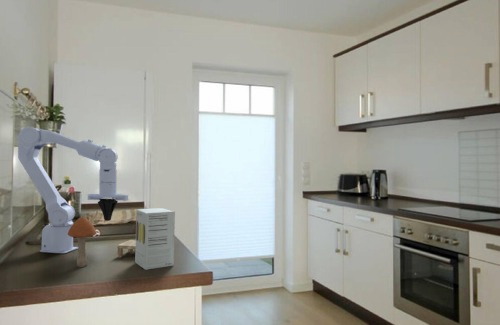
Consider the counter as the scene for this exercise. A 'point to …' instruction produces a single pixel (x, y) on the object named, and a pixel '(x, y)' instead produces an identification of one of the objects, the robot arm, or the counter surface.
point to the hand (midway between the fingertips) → (107, 220)
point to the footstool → (126, 247)
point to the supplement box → (154, 238)
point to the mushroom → (82, 237)
